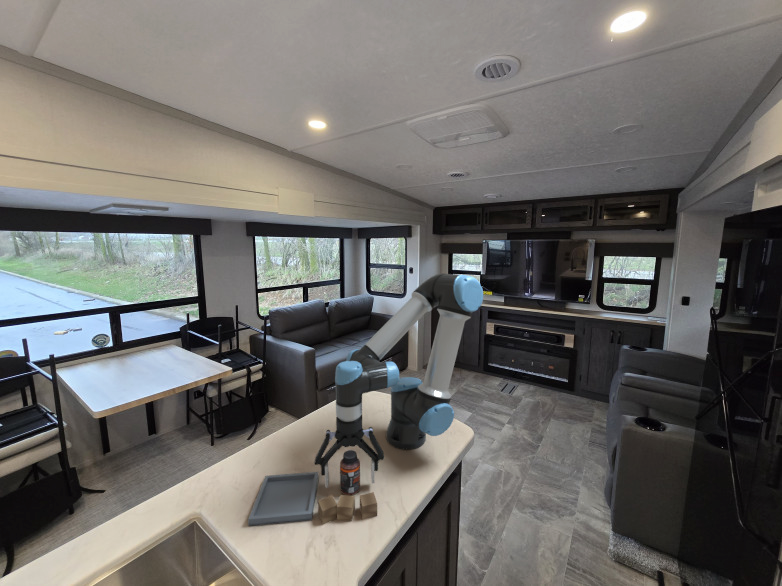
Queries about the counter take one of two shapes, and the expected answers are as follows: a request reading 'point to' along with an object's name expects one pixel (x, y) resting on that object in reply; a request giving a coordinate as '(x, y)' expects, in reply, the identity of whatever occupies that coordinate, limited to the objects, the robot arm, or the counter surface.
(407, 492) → the counter surface
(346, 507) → the block
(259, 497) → the tray
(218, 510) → the counter surface
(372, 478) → the robot arm
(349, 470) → the supplement bottle
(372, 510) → the block
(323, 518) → the block
